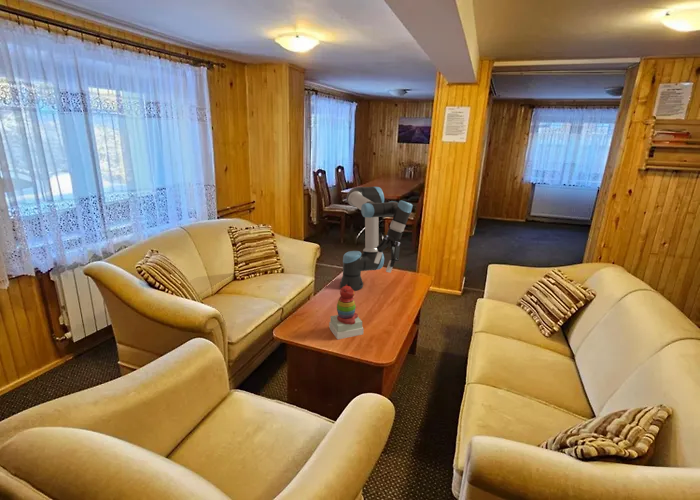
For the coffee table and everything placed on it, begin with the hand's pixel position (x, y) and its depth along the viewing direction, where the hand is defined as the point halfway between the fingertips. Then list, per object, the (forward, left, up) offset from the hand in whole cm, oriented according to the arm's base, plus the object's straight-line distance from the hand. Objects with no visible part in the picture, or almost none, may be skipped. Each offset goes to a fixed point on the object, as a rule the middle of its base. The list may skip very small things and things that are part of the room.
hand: (381, 267), depth 200 cm
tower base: (+8, -23, -29) cm, 38 cm away
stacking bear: (+9, -23, -22) cm, 33 cm away
